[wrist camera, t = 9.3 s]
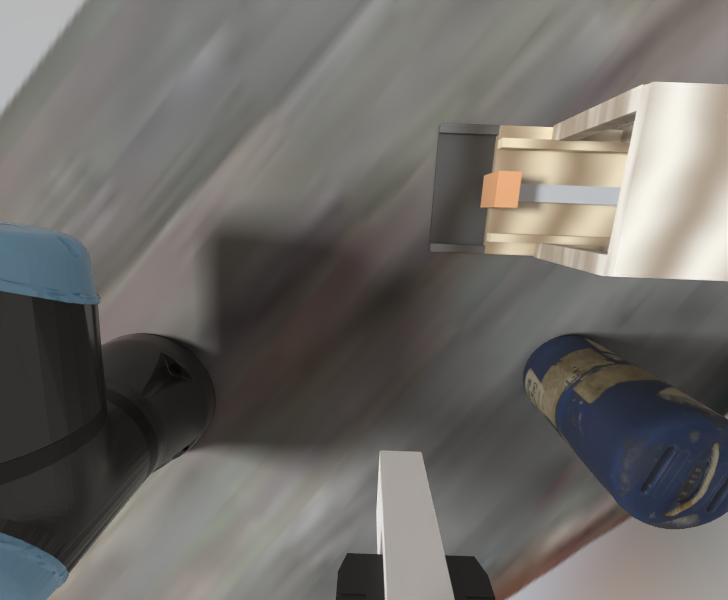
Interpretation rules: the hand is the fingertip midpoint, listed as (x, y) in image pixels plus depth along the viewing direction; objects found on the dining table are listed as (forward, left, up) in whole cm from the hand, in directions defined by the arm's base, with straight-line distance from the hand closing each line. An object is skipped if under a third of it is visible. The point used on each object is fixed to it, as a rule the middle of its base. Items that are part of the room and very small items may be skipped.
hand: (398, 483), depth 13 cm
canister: (+21, -7, -27) cm, 35 cm away
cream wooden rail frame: (+18, +12, -26) cm, 34 cm away
